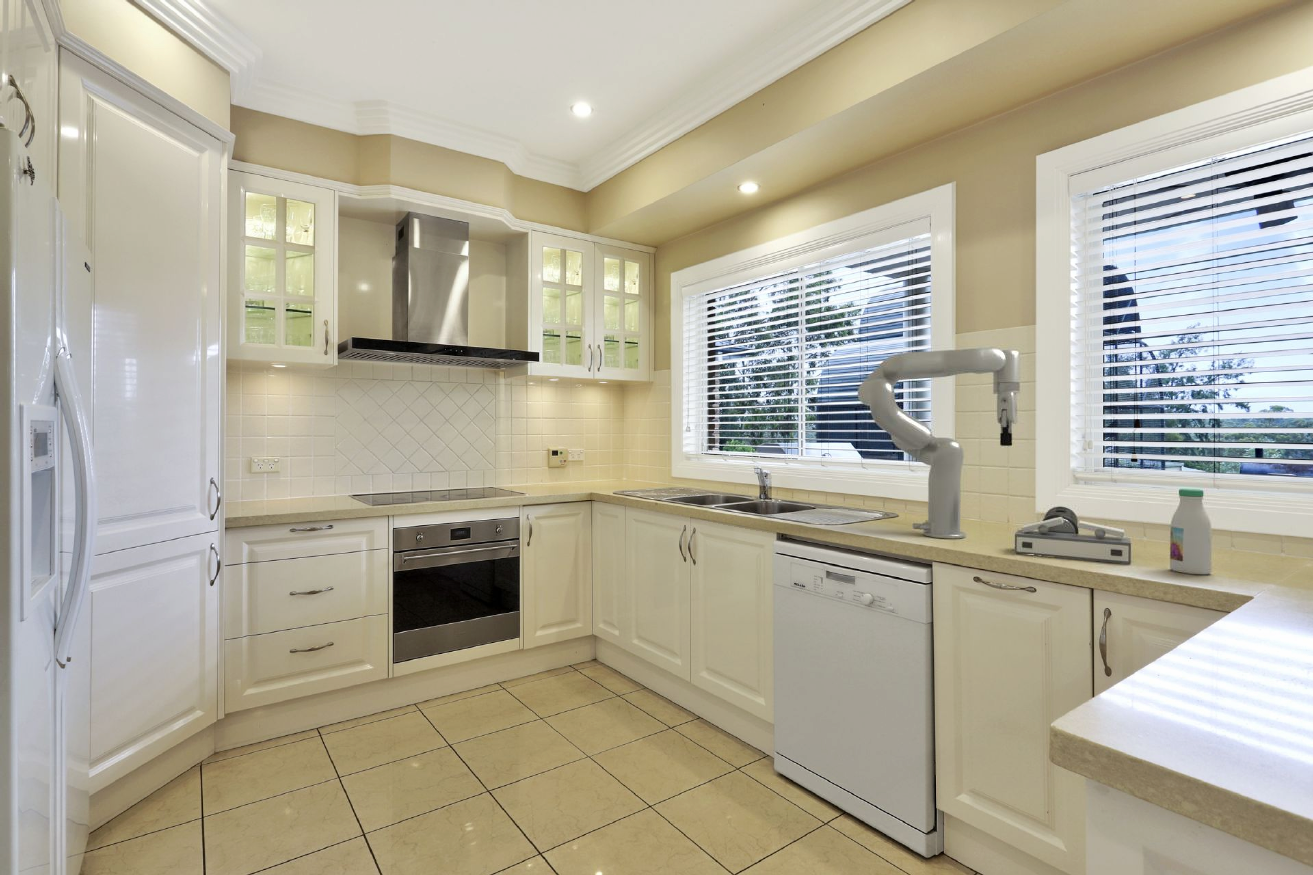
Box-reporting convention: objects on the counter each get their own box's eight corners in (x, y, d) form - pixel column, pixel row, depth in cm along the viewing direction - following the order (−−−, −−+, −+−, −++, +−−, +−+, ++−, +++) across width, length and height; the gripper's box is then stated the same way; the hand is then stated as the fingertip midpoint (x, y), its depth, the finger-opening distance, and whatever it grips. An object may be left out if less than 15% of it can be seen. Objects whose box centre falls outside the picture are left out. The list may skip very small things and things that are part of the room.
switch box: (1014, 553, 180) (1014, 534, 180) (1018, 548, 188) (1018, 529, 188) (1130, 564, 166) (1130, 543, 166) (1129, 558, 173) (1129, 538, 173)
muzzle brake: (1078, 539, 205) (1078, 506, 204) (1078, 553, 181) (1078, 516, 181) (1043, 536, 210) (1043, 504, 210) (1038, 550, 186) (1038, 514, 186)
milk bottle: (1212, 571, 158) (1213, 489, 158) (1210, 576, 152) (1211, 491, 152) (1171, 566, 163) (1172, 487, 163) (1168, 571, 158) (1169, 489, 157)
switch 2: (1076, 532, 175) (1079, 522, 175) (1077, 530, 179) (1079, 520, 179) (1121, 542, 169) (1124, 532, 169) (1121, 539, 173) (1123, 529, 173)
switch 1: (1024, 537, 182) (1021, 528, 182) (1026, 535, 186) (1022, 525, 186) (1064, 528, 176) (1060, 518, 177) (1065, 526, 181) (1061, 516, 181)
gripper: (1016, 387, 202) (1016, 446, 202) (1022, 389, 214) (1021, 445, 214) (989, 388, 206) (989, 446, 206) (996, 390, 218) (996, 445, 219)
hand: (1006, 445), depth 210 cm, fingers closed
